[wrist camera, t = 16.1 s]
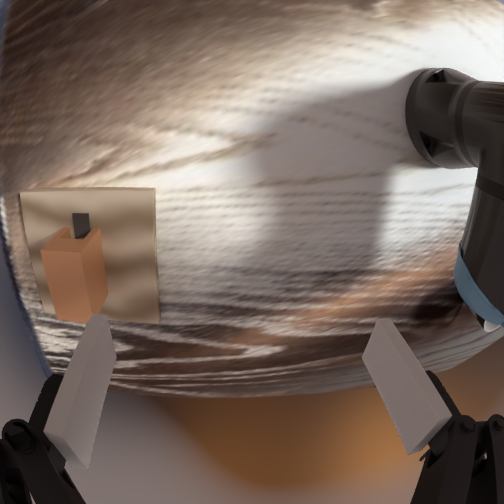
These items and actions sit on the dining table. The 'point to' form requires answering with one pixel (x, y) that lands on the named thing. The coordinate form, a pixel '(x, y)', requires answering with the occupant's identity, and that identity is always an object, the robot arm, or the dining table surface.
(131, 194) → the board
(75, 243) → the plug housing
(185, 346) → the dining table surface
